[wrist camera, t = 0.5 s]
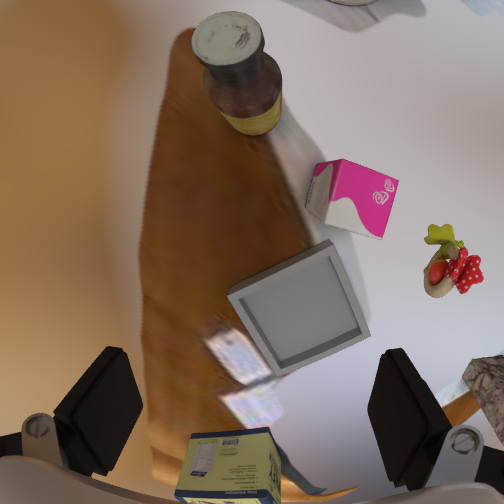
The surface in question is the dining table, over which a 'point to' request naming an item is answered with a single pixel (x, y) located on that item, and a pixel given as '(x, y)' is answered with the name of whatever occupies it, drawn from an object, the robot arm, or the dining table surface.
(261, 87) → the sauce bottle
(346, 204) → the supplement box
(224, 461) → the protein box
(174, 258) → the dining table surface
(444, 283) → the bird rattle
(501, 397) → the stone block
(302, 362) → the slate tray
